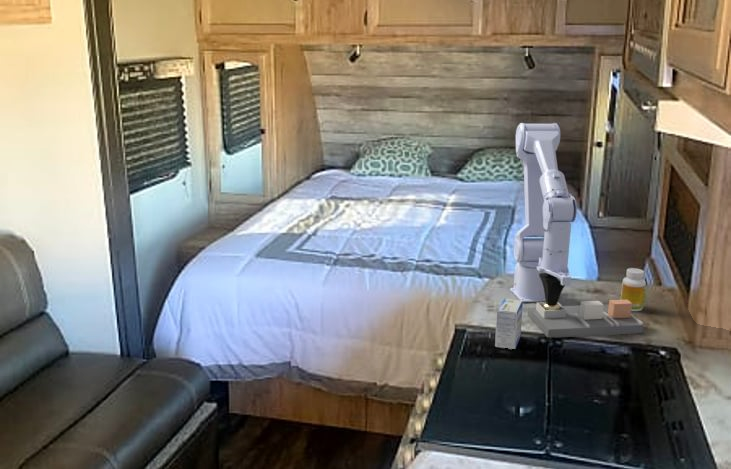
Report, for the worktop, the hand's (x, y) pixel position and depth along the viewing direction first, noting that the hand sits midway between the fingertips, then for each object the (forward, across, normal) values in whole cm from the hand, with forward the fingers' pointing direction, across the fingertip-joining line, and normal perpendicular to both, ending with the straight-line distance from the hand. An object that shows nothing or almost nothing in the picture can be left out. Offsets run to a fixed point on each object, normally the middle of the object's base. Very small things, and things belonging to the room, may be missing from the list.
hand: (551, 304), depth 173 cm
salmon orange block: (+2, +4, +15) cm, 16 cm away
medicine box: (+5, +10, -14) cm, 17 cm away
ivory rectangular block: (+2, +4, +8) cm, 9 cm away
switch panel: (+4, +2, +7) cm, 9 cm away
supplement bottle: (+4, -6, +23) cm, 25 cm away
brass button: (+2, 0, 0) cm, 2 cm away
